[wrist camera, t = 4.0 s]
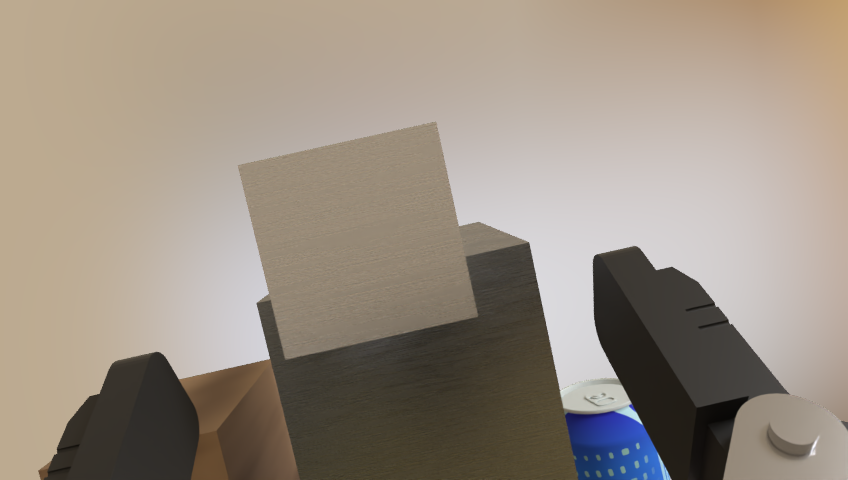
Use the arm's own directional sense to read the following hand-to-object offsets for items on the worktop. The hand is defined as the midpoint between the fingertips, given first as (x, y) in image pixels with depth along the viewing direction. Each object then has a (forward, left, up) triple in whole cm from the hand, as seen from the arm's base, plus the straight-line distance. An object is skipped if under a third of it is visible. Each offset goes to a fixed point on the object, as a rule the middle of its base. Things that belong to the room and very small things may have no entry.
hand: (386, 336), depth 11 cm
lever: (0, -11, 0) cm, 11 cm away
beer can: (-12, -35, -32) cm, 49 cm away
